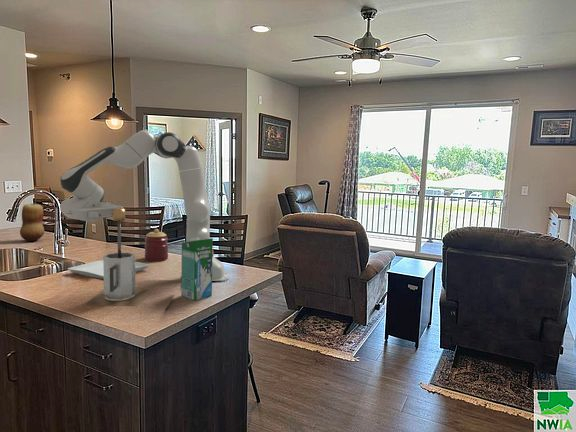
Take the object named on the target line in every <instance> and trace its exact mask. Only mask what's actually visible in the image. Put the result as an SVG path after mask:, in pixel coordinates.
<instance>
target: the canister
mask: <svg viewBox="0 0 576 432" xmlns="http://www.w3.org/2000/svg"><path fill="white" fill-rule="evenodd" d="M145 236H146V237H145V238H144V241H145V243H144V260H146V261H149V262H162V261H166V260H168V258H169V243H168V240H169V238H168V237H167V234H166V233H165V232H163V231H160V230H159V229H158V228H155V229H154V230H153V231H150V232H148V233H146V235H145Z"/></svg>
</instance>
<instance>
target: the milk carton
mask: <svg viewBox="0 0 576 432" xmlns="http://www.w3.org/2000/svg"><path fill="white" fill-rule="evenodd" d="M213 239H214V238H213V237H212V238H211V237H210V239H203V240H199V237H197V238H191V239H190V242H186V241H184V242H181V282H180V283H181V285H180V286H181V290H180V292H181V293H180V294H181V296H182V297H183V298H186V299H189V300H191V301H194V302H195V301H199V300H202V298H203V299H206V298H209V296H210V297H212V295H213V292H212V291H213V289H212V288H213V282H212V251H213V252H214V249H213V247H214V246H213V243H214V241H213ZM205 297H206V298H205Z"/></svg>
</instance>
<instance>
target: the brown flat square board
mask: <svg viewBox="0 0 576 432" xmlns="http://www.w3.org/2000/svg"><path fill="white" fill-rule="evenodd" d="M152 291H153V289H147V288H146V289H144V288H143V289H142V288H140V289H139V288H135V297H134V298H132V299H130V300H126V301H119V302H112V301H107V300H105V299H104V288H103V289H102V290H100V291H99V292H98V293H96V294H95V295H94V296H93V297H92V298H90V299H89V300H87V301H86V302H85V303H83V306H90V307H91V306H93V307H94V306H95V307H96V306H101V307H102V306H103V307H104V306H105V307H106V306H108V307H109V306H111V307H139V306H140V305H141V303H142V302H143V301H144V300H145V299H146V298H147V297H148V296H149V294H150V293H151V292H152Z"/></svg>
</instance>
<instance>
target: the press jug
mask: <svg viewBox="0 0 576 432" xmlns="http://www.w3.org/2000/svg"><path fill="white" fill-rule="evenodd" d="M102 258H103V259H102V260H103V266H104V279H103V289H104V299H105V300H107V301H112V302H119V301H126V300H130V299H132V298H134V297H135V289H136V272H135V262H136V254H134V253H132V252H121V258H118V252H112V253H111V252H110V253H107V254H104V256H103V257H102Z"/></svg>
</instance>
